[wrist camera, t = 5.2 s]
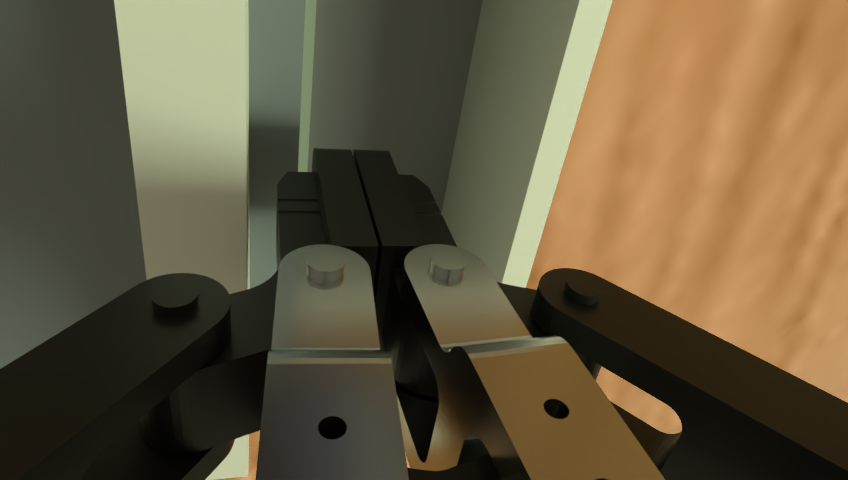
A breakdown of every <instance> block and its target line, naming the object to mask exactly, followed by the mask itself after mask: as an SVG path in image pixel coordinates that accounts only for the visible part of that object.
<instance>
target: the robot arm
mask: <svg viewBox="0 0 848 480" xmlns="http://www.w3.org/2000/svg"><path fill="white" fill-rule="evenodd" d="M435 202H436V201H435V199H434V197H433V195H432V193H431V190H430V188H429V187H428V186H427V185H426V184H424V183H423V182H422V181H421V180H419V179H418V178H417V177H415V176H414V175H400V174H398V172H397V169H396V167H395V164H394V162H393V159H392V157H391V155H390V152H389V151H380V150H354V149H353V150H352V152H351V150H350V149H325V148H314V150H313V158H312V172H289V171H287V173H286V174H285V175H284V176H283V177H282V179H281V180H280V181H279V182H278V183H277V216H276V261H277V271H276V273H275V274H274V275H273V276H272V277H271V278H269V279H268V280H267V281H265V282H264V283H262V284H260V285H258V286H256V287H253V288H251V289H247V290H244V291H240V292H236V293H231V294H229V293H228V291H227V290H226V288H225V287H224V286H223V285H222V284H220V283H219V282H218V281H216V280H214V279H212V278H209V277H207V276H203V275H199V274H192V273H173V274H166V275H161V276H157V277H154V278H151V279H148V280H146V281H143V282H142V283H140V284H138V285H136V286H134V287H133V288H131V289H130V290H128V291H126V292H125V293H123V294H121V295H120V296H118V297H116V298H115V299H113V300H112V301H110V302H108V303H107V304H105V305H103V306H102V307H100V308H99V309H97V310H95V311H94V312H92V313H90V314H89V315H87V316H86V317H84V318H82V319H81V320H79V321H77V322H76V323H74V324H73V325H71V326H69V327H68V328H66V329H64V330H63V331H61V332H60V333H58V334H56V335H55V336H53V337H51V338H50V339H48V340H46V341H45V342H43V343H42V344H40V345H38V346H37V347H35V348H33V349H32V350H30V351H29V352H27V353H25V354H24V355H22V356H20V357H19V358H17V359H16V360H14V361H12V362H11V363H9V364H7V365H6V366H4V367H3V368H1V369H0V480H205V479H206V478H207V477H208V476H209V475H210V474H211V473H212V472H213V471H214V470H215V469H216V468H217V467H218V466H219V464H220V463H221V462H222V461H223V460H224V459H225V458H226V457H227V455H228V454H229V453H230V451H231V449H232V447H233V444H234V441H235V439H237V438H240V437H242V436H245V435H248V434H251V433H253V432H256V431H259V430H260V441H259V451H258V462H257V472H256V480H848V403H847V402H845V401H843V400H841V399H839V398H837V397H835V396H833V395H831V394H829V393H827V392H825V391H823V390H821V389H819V388H817V387H815V386H813V385H811V384H809V383H807V382H805V381H803V380H801V379H800V378H798V377H796V376H794V375H792V374H790V373H788V372H786V371H784V370H782V369H780V368H778V367H776V366H774V365H772V364H770V363H768V362H766V361H764V360H762V359H760V358H758V357H756V356H754V355H752V354H750V353H748V352H746V351H744V350H742V349H740V348H738V347H737V346H735V345H733V344H731V343H729V342H727V341H725V340H723V339H721V338H719V337H717V336H715V335H713V334H711V333H709V332H707V331H705V330H703V329H701V328H699V327H697V326H695V325H693V324H691V323H689V322H687V321H685V320H683V319H681V318H679V317H677V316H676V315H674V314H672V313H670V312H668V311H666V310H664V309H662V308H660V307H658V306H656V305H654V304H652V303H650V302H648V301H646V300H644V299H642V298H640V297H638V296H636V295H634V294H632V293H630V292H628V291H626V290H624V289H622V288H620V287H618V286H616V285H615V284H613V283H611V282H609V281H607V280H605V279H603V278H601V277H599V276H596V275H594V274H592V273H589V272H586V271H582V270H577V269H570V268H560V269H554V270H551V271H548V272H547V273H545V274H544V275H543V276H542V277H541V279H540V281H539V284H538V288H537V290H533V289H528V288H523V287H518V286H513V285H508V284H503V283H499V282H496V280H495V279H494V277H493V276H492V274H491V272H490V271H489V269H488V268H487V266H486V265H485V264H484V262H483V261H482V260H481V259H480V258H479V257H477V256H476V255H474V254H473V253H471V252H469V251H467V250H464V249H462V248H459V247H457V245H456V243H455V241H454V239H453V237H452V235H451V232H450V230H449V228H448V226H447V224H446V222H445V220H444V218H443V216H442V215H441V211H440V209H439V207H438V205H437V204H435ZM601 366H602V367H604V368H606V369H607V370H609V371H611V372H613V373H614V374H616V375H618V376H619V377H621V378H623V379H625V380H626V381H628V382H630V383H631V384H633V385H635V386H637V387H638V388H640V389H642V390H643V391H645V392H647V393H649V394H650V395H652V396H654V397H655V398H657V399H659V400H660V401H662V402H664V403H666V404H667V405H669V406H670V407H671V408H672V409H673V410H674V411H675V412H676V413H677V415H678V416H679V418H680V420H681V423H682V431H681V432H680V433H677V434H666V433H663V432H660V431H658V430H656V429H655V428H653V427H651V426H650V425H648V424H647V423H645V422H643V421H642V420H640V419H638V418H637V417H635V416H633V415H632V414H630V413H629V412H627V411H625V410H624V409H622V408H620V407H619V406H617V405H615V404H614V403H612V402H611V401H609V399H608V398H607V396H606V395H605V394H604V392H603V391H602V389H601V388H600V387H599V385H598V384H597V382H596V378H597V376H598V373H599V371H600V369H601ZM405 453H406V456H407V459H408V462H409V465H410V468H407V463H406V456H405Z"/></svg>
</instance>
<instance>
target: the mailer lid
mask: <svg viewBox="0 0 848 480" xmlns="http://www.w3.org/2000/svg"><path fill="white" fill-rule="evenodd" d="M304 23H305V0H0V369H1V368H3V367H4V366H6V365H7V364H9V363H11V362H12V361H14V360H16V359H17V358H19V357H20V356H22V355H24V354H25V353H27V352H29V351H30V350H32V349H33V348H35V347H37V346H38V345H40V344H42V343H43V342H45V341H46V340H48V339H50V338H51V337H53V336H55V335H56V334H58V333H60V332H61V331H63V330H64V329H66V328H68V327H69V326H71V325H73V324H74V323H76V322H77V321H79V320H81V319H82V318H84V317H86V316H87V315H89V314H90V313H92V312H94V311H95V310H97V309H99V308H100V307H102V306H103V305H105V304H107V303H108V302H110V301H112V300H113V299H115V298H116V297H118V296H120V295H121V294H123V293H125V292H126V291H128V290H130V289H131V288H133V287H134V286H136V285H138V284H140V283H142V282H143V281H146V280H148V279H151V278H154V277H157V276H161V275H166V274H173V273H192V274H199V275H203V276H207V277H209V278H212V279H214V280H216V281H218V282H219V283H220V284H222V285H223V286H224V287H225V288H226V290H227V291H228V293H229V294H231V293H236V292H240V291H244V290H247V289H251V288H253V287H256V286H258V285H260V284H262V283H264V282H265V281H267V280H268V279H269V278H271V277H272V276H273V275H274V274H275V273H276V271H277V261H276V216H277V183H278V182H279V181H280V180H281V179H282V177H283V176H284V175H285V174H286V173H287V171H289V172H298V158H299V136H300V113H301V90H302V68H303V45H304ZM248 459H249V434H248V435H245V436H242V437H240V438H237V439H235V441H234V444H233V447H232V449H231V451H230V453H229V454H228V455H227V457H226V458H225V459H224V460H223V461H222V462H221V463H220V464H219V466H218V467H217V468H216V469H215V470H214V471H213V472H212V473H211V474H210V475H209V476H208V477H207V478H206V479H205V480H213V479H224V478H234V477H244V476H248Z"/></svg>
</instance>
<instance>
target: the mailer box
mask: <svg viewBox="0 0 848 480" xmlns="http://www.w3.org/2000/svg"><path fill="white" fill-rule="evenodd" d="M612 1H613V0H305V23H304V45H303V68H302V90H301V113H300V136H299V158H298V172H312V158H313V150H314V148H325V149H350V150H351V152H352V150H353V149H354V150H380V151H389V152H390V155H391V157H392V159H393V162H394V164H395V167H396V169H397V172H398V174H400V175H414V176H415V177H417V178H418V179H419V180H421V181H422V182H423V183H424V184H426V185H427V186H428V187H429V188H430V190H431V193H432V195H433V197H434V199H435V201H436V202H435V204H437V205H438V207H439V209H440V211H441V215H442V216H443V218H444V220H445V222H446V224H447V226H448V228H449V230H450V232H451V235H452V237H453V239H454V241H455V243H456V245H457V247H459V248H462V249H464V250H467V251H469V252H471V253H473V254H474V255H476V256H477V257H479V258H480V259H481V260H482V261H483V262H484V264H485V265H486V266H487V268H488V269H489V271H490V272H491V274H492V276H493V277H494V279H495V280H496V282H499V283H503V284H508V285H513V286H518V287H523V288H526V285H527V281H528V278H529V275H530V272H531V268H532V265H533V262H534V258H535V255H536V252H537V248H538V245H539V242H540V239H541V235H542V232H543V229H544V225H545V222H546V219H547V215H548V212H549V209H550V205H551V202H552V199H553V196H554V192H555V189H556V186H557V182H558V179H559V176H560V172H561V169H562V166H563V162H564V159H565V156H566V153H567V149H568V146H569V143H570V139H571V136H572V133H573V129H574V126H575V123H576V120H577V116H578V113H579V110H580V106H581V103H582V100H583V96H584V93H585V90H586V86H587V83H588V80H589V77H590V73H591V70H592V67H593V63H594V60H595V57H596V53H597V50H598V47H599V44H600V40H601V37H602V34H603V30H604V27H605V24H606V20H607V17H608V14H609V10H610V7H611V4H612Z"/></svg>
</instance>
